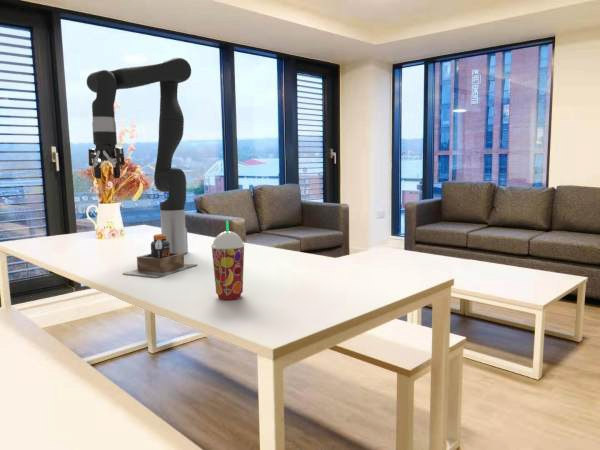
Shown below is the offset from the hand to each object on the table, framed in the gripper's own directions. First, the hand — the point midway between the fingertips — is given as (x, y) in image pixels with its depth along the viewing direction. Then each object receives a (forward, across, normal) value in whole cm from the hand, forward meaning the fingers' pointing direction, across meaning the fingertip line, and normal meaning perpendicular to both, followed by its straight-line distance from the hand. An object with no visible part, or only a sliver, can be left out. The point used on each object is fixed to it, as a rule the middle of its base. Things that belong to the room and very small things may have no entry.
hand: (107, 178), depth 168 cm
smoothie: (+30, -63, +22) cm, 74 cm away
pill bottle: (+30, -24, +2) cm, 38 cm away
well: (+30, -24, +2) cm, 38 cm away
